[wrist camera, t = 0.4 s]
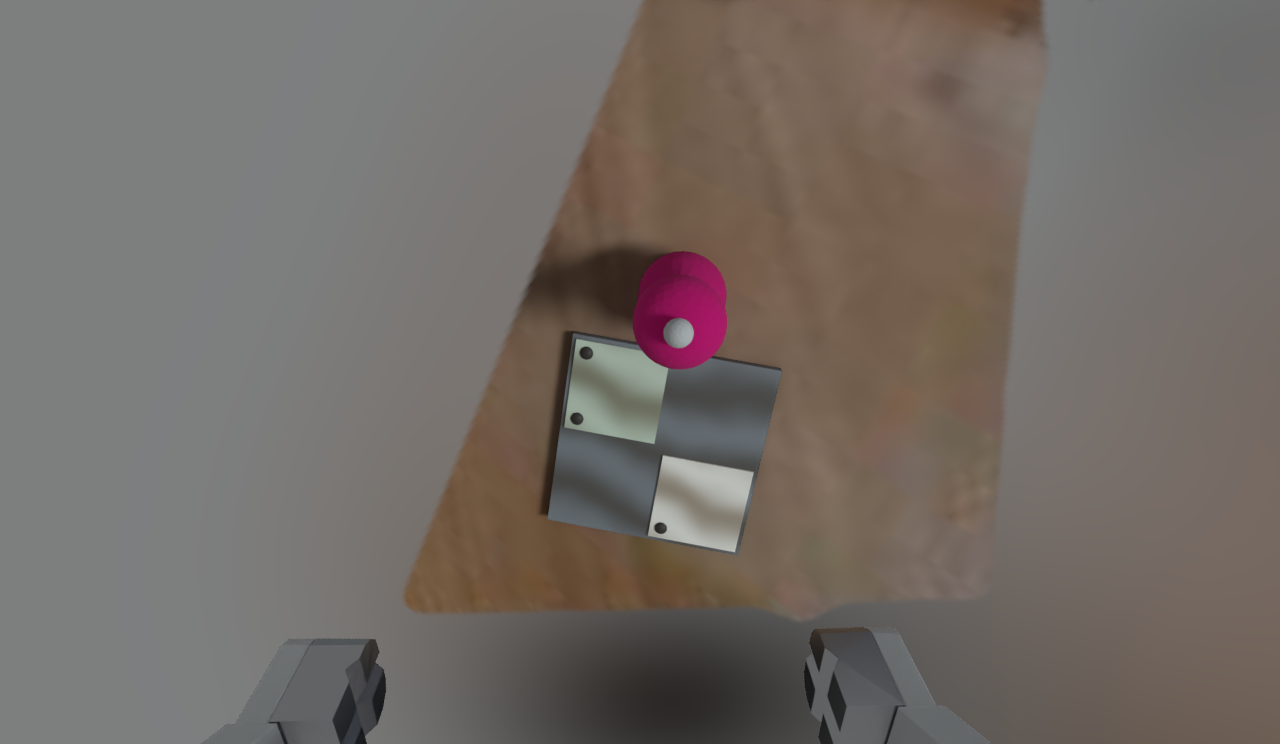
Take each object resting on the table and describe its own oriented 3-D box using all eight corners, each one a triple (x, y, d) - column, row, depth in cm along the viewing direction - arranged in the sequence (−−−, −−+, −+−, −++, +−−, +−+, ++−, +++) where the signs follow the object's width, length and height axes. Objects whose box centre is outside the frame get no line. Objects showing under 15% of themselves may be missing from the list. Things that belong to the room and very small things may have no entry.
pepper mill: (625, 295, 54) (590, 344, 35) (677, 230, 53) (669, 245, 33) (687, 345, 55) (686, 420, 36) (740, 283, 53) (769, 327, 34)
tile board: (575, 331, 56) (572, 334, 54) (780, 368, 55) (782, 372, 54) (549, 514, 61) (546, 520, 60) (737, 549, 60) (738, 557, 59)
